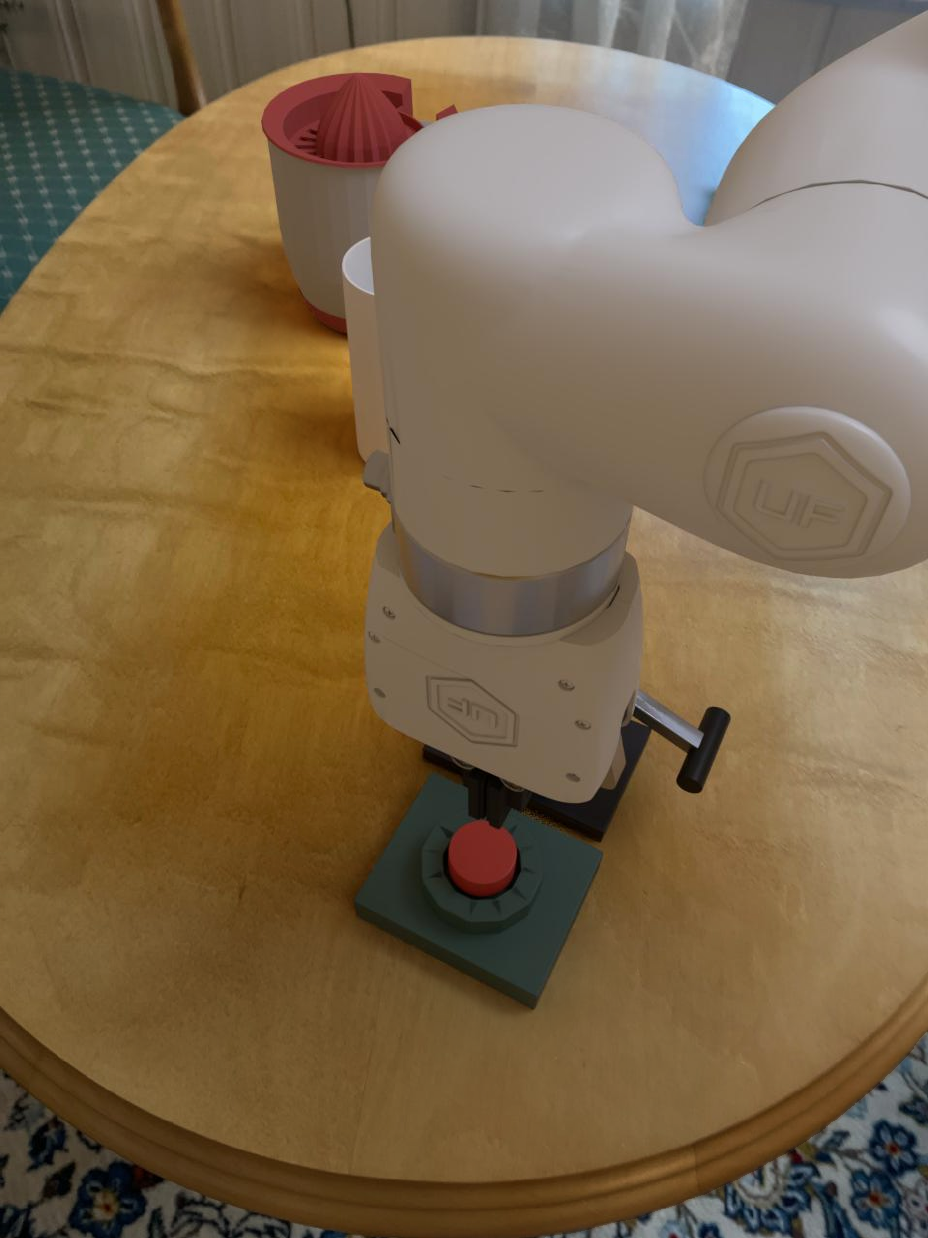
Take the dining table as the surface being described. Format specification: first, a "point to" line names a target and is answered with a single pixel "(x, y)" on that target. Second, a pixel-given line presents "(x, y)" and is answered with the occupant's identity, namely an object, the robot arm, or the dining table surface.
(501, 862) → the button
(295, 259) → the citrus juicer
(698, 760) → the lever
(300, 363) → the dining table surface
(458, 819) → the button box
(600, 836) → the bracket
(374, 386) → the cup
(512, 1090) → the dining table surface
